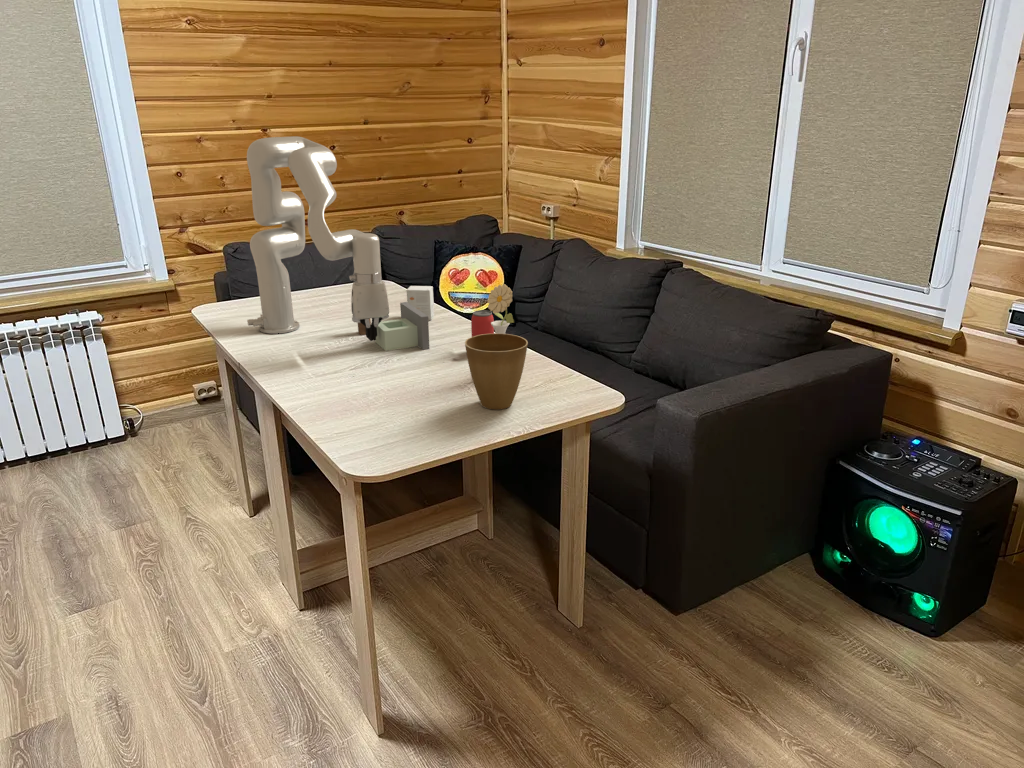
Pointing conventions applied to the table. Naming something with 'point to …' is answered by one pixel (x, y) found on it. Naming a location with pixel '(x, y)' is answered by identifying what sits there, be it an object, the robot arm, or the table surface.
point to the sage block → (396, 334)
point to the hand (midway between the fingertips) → (371, 339)
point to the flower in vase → (500, 307)
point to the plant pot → (496, 367)
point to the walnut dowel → (362, 328)
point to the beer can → (482, 323)
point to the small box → (421, 299)
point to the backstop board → (417, 323)
